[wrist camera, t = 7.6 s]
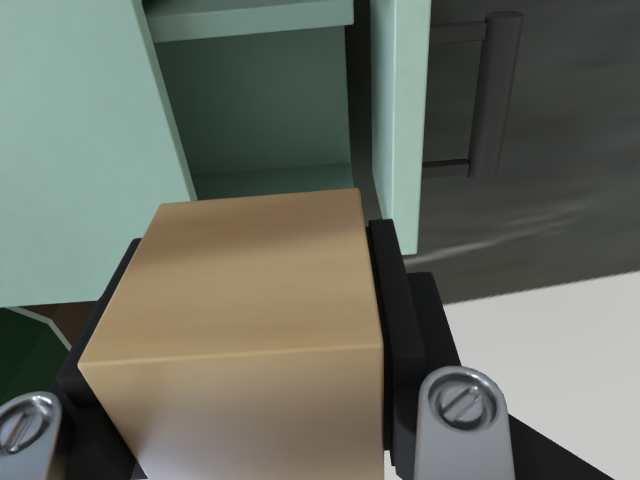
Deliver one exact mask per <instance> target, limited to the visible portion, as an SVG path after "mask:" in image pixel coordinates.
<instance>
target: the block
mask: <svg viewBox="0 0 640 480" xmlns="http://www.w3.org/2000/svg"><path fill="white" fill-rule="evenodd" d="M78 368H79V370H80V371H81V373H82V375H83V376H84V378H85V379H86V381H87V382H88V384H89V386H90V387H91V389H92V390H93V392H94V394H95V395H96V397H97V398H98V400H99V401H100V403H101V405H102V406H103V408H104V409H105V411H106V413H107V414H108V416H109V417H110V419H111V420H112V422H113V424H114V425H115V427H116V428H117V430H118V432H119V433H120V435H121V436H122V438H123V439H124V441H125V443H126V444H127V446H128V447H129V449H130V451H131V452H132V454H133V455H134V457H135V458H136V460H137V462H138V463H139V465H140V466H141V468H142V470H143V471H144V473H145V474H146V476H147V477H148V479H149V480H384V345H383V338H382V332H381V325H380V319H379V313H378V306H377V300H376V293H375V287H374V281H373V274H372V268H371V261H370V255H369V249H368V242H367V236H366V229H365V223H364V217H363V210H362V204H361V197H360V191H359V189H358V188H350V189H337V190H325V191H312V192H299V193H287V194H274V195H262V196H249V197H237V198H224V199H212V200H199V201H187V202H174V203H162V204H160V205H159V207H158V209H157V211H156V213H155V214H154V216H153V218H152V220H151V222H150V224H149V226H148V228H147V230H146V232H145V234H144V236H143V238H142V240H141V242H140V244H139V245H138V247H137V249H136V251H135V253H134V255H133V257H132V259H131V261H130V263H129V265H128V267H127V269H126V271H125V273H124V274H123V276H122V278H121V280H120V282H119V284H118V286H117V288H116V290H115V292H114V294H113V296H112V298H111V300H110V302H109V304H108V305H107V307H106V309H105V311H104V313H103V315H102V317H101V319H100V321H99V323H98V325H97V327H96V329H95V331H94V333H93V335H92V336H91V338H90V340H89V342H88V344H87V346H86V348H85V350H84V352H83V354H82V356H81V358H80V360H79V362H78Z"/></svg>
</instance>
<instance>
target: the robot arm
mask: <svg viewBox="0 0 640 480" xmlns="http://www.w3.org/2000/svg"><path fill="white" fill-rule="evenodd" d="M365 229H366V236H367V242H368V249H369V255H370V261H371V268H372V274H373V281H374V287H375V293H376V300H377V306H378V313H379V319H380V325H381V332H382V338H383V345H384V451H386V450H390V458H391V465H392V466H395V469H396V474H397V475H398V476H399V477H400V478H401V479H402V480H614V479H613V478H611V477H609V476H608V475H606V474H605V473H603V472H601V471H600V470H598V469H597V468H595V467H593V466H592V465H590V464H589V463H587V462H585V461H583V460H582V459H580V458H579V457H577V456H576V455H574V454H572V453H571V452H569V451H568V450H566V449H564V448H563V447H561V446H559V445H558V444H556V443H555V442H553V441H552V440H550V439H548V438H547V437H545V436H543V435H542V434H540V433H539V432H537V431H535V430H534V429H532V428H531V427H529V426H527V425H526V424H524V423H523V422H521V421H519V420H518V419H516V418H515V417H513V416H511V415H510V414H508V411H507V405H506V402H505V398H504V395H503V393H502V392H501V390H500V389H499V387H498V386H497V384H496V383H495V382H493V381H492V380H491V379H490V378H489V377H487V376H486V375H485V374H483V373H481V372H479V371H477V370H474V369H472V368H468V367H464V366H462V365H461V362H460V359H459V356H458V353H457V350H456V347H455V343H454V341H453V337H452V334H451V331H450V328H449V324H448V321H447V318H446V315H445V312H444V309H443V305H442V302H441V299H440V296H439V293H438V290H437V287H436V283H435V280H434V277H433V275H432V273H431V272H418V273H406V271H405V266H404V262H403V258H402V254H401V250H400V246H399V242H398V238H397V234H396V230H395V226H394V222H393V219H380V220H369V227H365ZM141 240H142V238H135V239H133V240H132V241H131V243H130V245H129V247H128V248H127V250H126V252H125V254H124V256H123V258H122V260H121V261H120V263H119V265H118V267H117V269H116V271H115V272H114V274H113V276H112V278H111V280H110V282H109V283H108V285H107V287H106V289H105V291H104V293H103V294H102V296H101V297H100V298H99V299H98V301H97V302H96V304H95V305H94V307H93V309H92V311H91V313H90V315H89V316H88V318H87V320H86V322H85V324H84V325H83V327H82V329H81V331H80V333H79V335H78V336H77V338H76V340H75V342H74V344H73V345H72V347H71V349H70V351H69V353H68V355H67V356H66V358H65V360H64V362H63V364H62V366H61V367H60V369H59V371H58V373H57V375H56V376H55V378H54V380H53V382H52V384H51V386H50V387H49V389H48V391H47V392H44V391H38V392H30V393H27V394H24V395H21V396H18V397H16V398H14V399H12V400H11V401H9V402H7V403H5V404H4V405H2V406H1V407H0V480H140V479H148V477H147V476H146V474H145V473H144V471H143V470H142V468H141V466H140V465H139V463H138V462H137V460H136V458H135V457H134V455H133V454H132V452H131V451H130V449H129V447H128V446H127V444H126V443H125V441H124V439H123V438H122V436H121V435H120V433H119V432H118V430H117V428H116V427H115V425H114V424H113V422H112V420H111V419H110V417H109V416H108V414H107V413H106V411H105V409H104V408H103V406H102V405H101V403H100V401H99V400H98V398H97V397H96V395H95V394H94V392H93V390H92V389H91V387H90V386H89V384H88V382H87V381H86V379H85V378H84V376H83V375H82V373H81V371H80V370H79V368H78V362H79V360H80V358H81V356H82V354H83V352H84V350H85V348H86V346H87V344H88V342H89V340H90V338H91V336H92V335H93V333H94V331H95V329H96V327H97V325H98V323H99V321H100V319H101V317H102V315H103V313H104V311H105V309H106V307H107V305H108V304H109V302H110V300H111V298H112V296H113V294H114V292H115V290H116V288H117V286H118V284H119V282H120V280H121V278H122V276H123V274H124V273H125V271H126V269H127V267H128V265H129V263H130V261H131V259H132V257H133V255H134V253H135V251H136V249H137V247H138V245H139V244H140V242H141Z"/></svg>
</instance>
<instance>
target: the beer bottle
mask: <svg viewBox="0 0 640 480" xmlns="http://www.w3.org/2000/svg"><path fill="white" fill-rule="evenodd" d="M94 305H95V301H81V302H68V303H54V304H40V305H26V306H13V307H0V407H1V406H2V405H4V404H5V403H7V402H9V401H11V400H12V399H14V398H16V397H18V396H21V395H24V394H27V393H30V392H38V391H44V392H47V391H48V389H49V387H50V386H51V384H52V382H53V380H54V378H55V376H56V375H57V373H58V371H59V369H60V367H61V366H62V364H63V362H64V360H65V358H66V356H67V355H68V353H69V351H70V349H71V347H72V345H73V344H74V342H75V340H76V338H77V336H78V335H79V333H80V331H81V329H82V327H83V325H84V324H85V322H86V320H87V318H88V316H89V315H90V313H91V311H92V309H93V307H94Z"/></svg>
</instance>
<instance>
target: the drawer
mask: <svg viewBox="0 0 640 480" xmlns="http://www.w3.org/2000/svg"><path fill="white" fill-rule="evenodd" d="M141 3H142V7H143V10H144V14H145V17H146V21H147V24H148V28H149V31H150V35H151V38H152V42H153V45H154V49H155V52H156V56H157V59H158V63H159V66H160V70H161V73H162V77H163V80H164V84H165V87H166V91H167V94H168V98H169V101H170V105H171V108H172V112H173V115H174V119H175V122H176V126H177V129H178V133H179V136H180V140H181V144H182V147H183V151H184V154H185V158H186V161H187V165H188V168H189V172H190V175H191V179H192V182H193V186H194V189H195V193H196V196H197V200H198V201H199V200H212V199H224V198H237V197H249V196H262V195H274V194H287V193H299V192H312V191H325V190H337V189H350V188H355V187H354V180H353V174H352V167H351V155H350V134H349V112H348V91H347V69H346V48H345V26H344V25H352V24H354V7H353V0H142V1H141ZM430 15H431V0H370V40H371V106H372V172H373V178H374V183H375V187H376V191H377V196H378V200H379V205H380V209H381V213H382V218H383V219H393V222H394V226H395V230H396V234H397V238H398V242H399V246H400V250H401V254H402V255H407V254H416V253H417V243H418V225H419V208H420V190H421V179H424V178H436V177H449V176H461V175H467V177H468V178H470V179H472V180H474V181H479V182H487V181H492V180H494V179H495V178H496V177H497V172H498V166H499V160H500V154H501V149H502V143H503V137H504V131H505V125H506V119H507V113H508V107H509V101H510V95H511V89H512V83H513V78H514V72H515V66H516V60H517V54H518V48H519V42H520V36H521V30H522V24H523V18H524V14H523V13H520V12H515V11H498V12H492V13H489V14H487V15H486V16H485V22H484V21H475V22H464V23H453V24H442V25H431V26H430ZM478 40H482V48H481V56H480V64H479V72H478V80H477V89H476V97H475V105H474V113H473V121H472V129H471V137H470V145H469V154H468V161H467V159H456V160H443V161H431V162H422V155H423V137H424V120H425V102H426V85H427V67H428V50H429V45H434V44H445V43H456V42H467V41H478Z"/></svg>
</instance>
